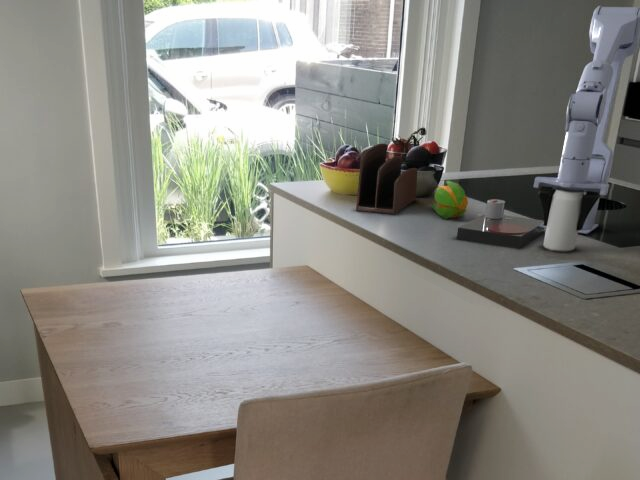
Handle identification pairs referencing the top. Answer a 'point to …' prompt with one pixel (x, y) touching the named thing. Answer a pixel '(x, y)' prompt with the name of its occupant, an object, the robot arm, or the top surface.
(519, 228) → the burner ring
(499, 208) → the knob
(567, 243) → the can
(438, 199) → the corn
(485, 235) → the hob
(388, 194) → the letter holder
